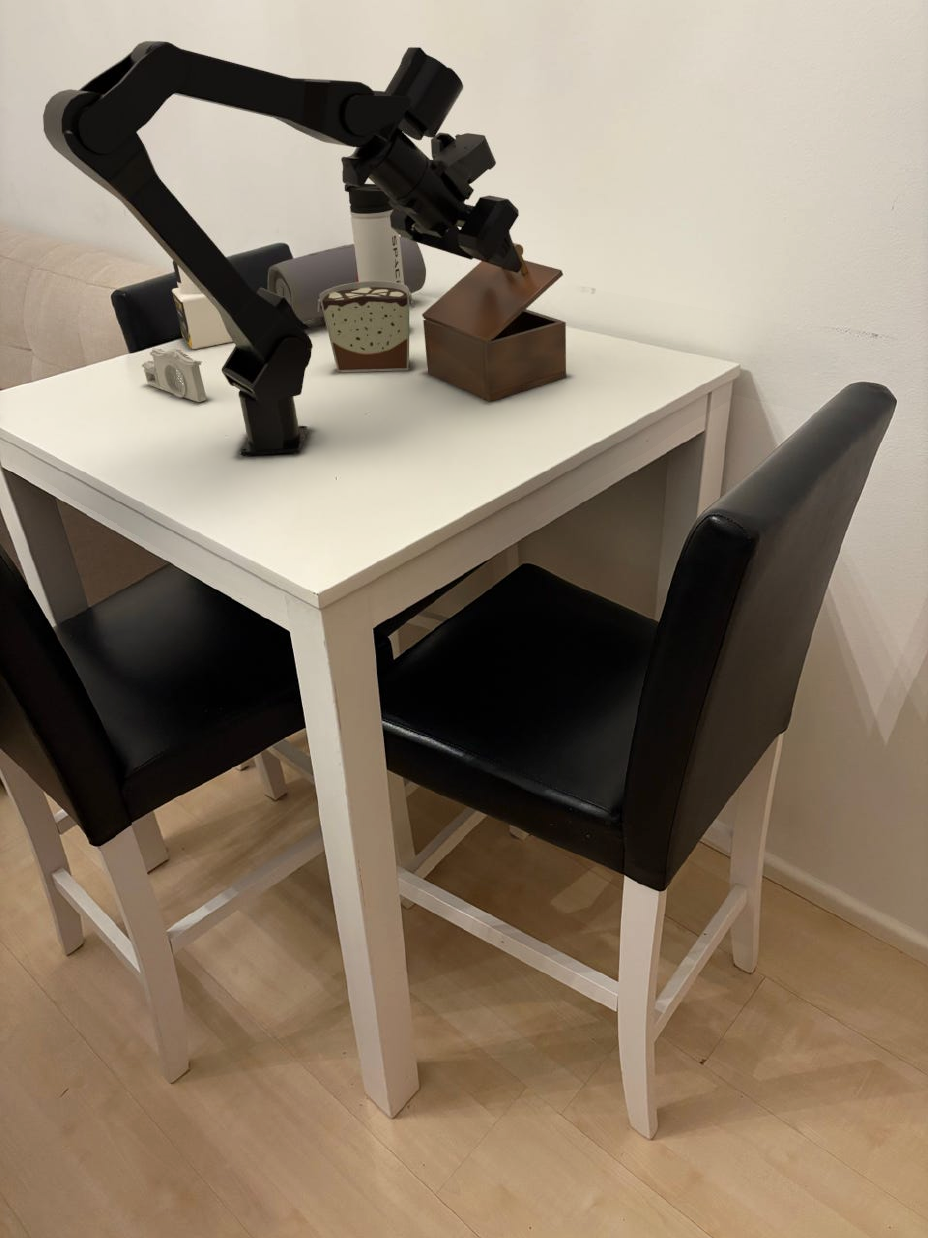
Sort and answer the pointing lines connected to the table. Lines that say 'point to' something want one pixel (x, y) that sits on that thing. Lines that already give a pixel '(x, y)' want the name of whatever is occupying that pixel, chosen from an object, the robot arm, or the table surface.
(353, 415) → the table surface
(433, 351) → the tea box
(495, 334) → the tea box lid
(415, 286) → the bluetooth speaker
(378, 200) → the travel mug
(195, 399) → the grey toy camera
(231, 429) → the table surface
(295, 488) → the table surface
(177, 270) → the medicine bottle
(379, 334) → the food container
